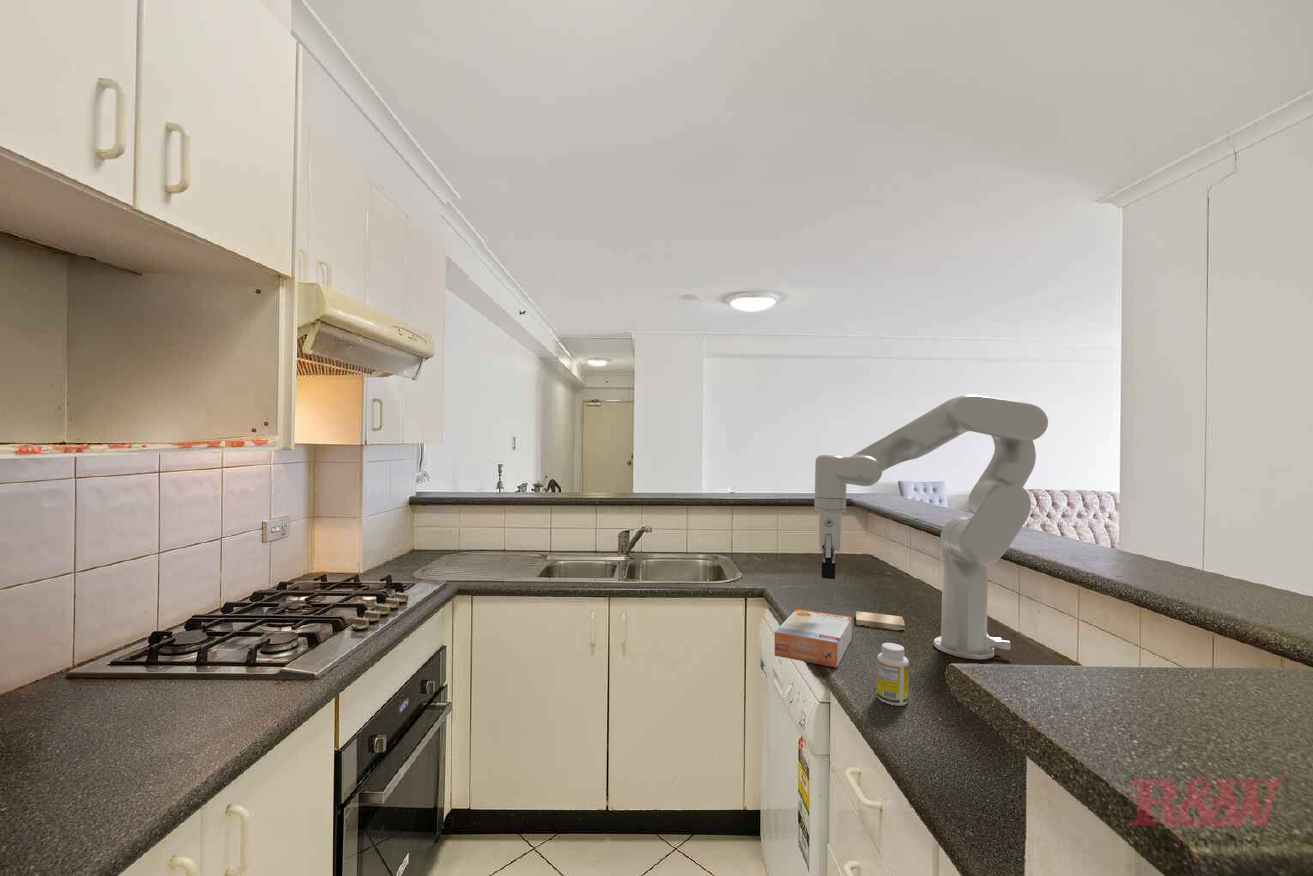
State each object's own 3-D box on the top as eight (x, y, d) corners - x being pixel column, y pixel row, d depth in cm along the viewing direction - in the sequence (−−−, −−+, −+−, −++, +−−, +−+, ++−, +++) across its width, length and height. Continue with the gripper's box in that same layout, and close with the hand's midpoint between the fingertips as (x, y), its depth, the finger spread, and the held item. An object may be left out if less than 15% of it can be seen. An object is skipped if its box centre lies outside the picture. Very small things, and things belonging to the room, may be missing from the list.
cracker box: (796, 631, 143) (772, 656, 125) (796, 607, 143) (773, 629, 125) (852, 641, 136) (837, 669, 118) (853, 616, 137) (837, 641, 118)
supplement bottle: (898, 693, 108) (899, 640, 108) (914, 707, 102) (915, 651, 102) (870, 693, 107) (872, 641, 107) (885, 707, 102) (886, 652, 102)
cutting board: (902, 622, 152) (902, 616, 152) (904, 631, 144) (905, 625, 144) (856, 616, 156) (856, 611, 156) (856, 625, 148) (856, 619, 148)
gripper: (845, 508, 129) (843, 586, 129) (846, 502, 143) (844, 573, 143) (812, 506, 132) (810, 583, 132) (816, 500, 146) (814, 570, 146)
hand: (828, 577), depth 138 cm, fingers closed
